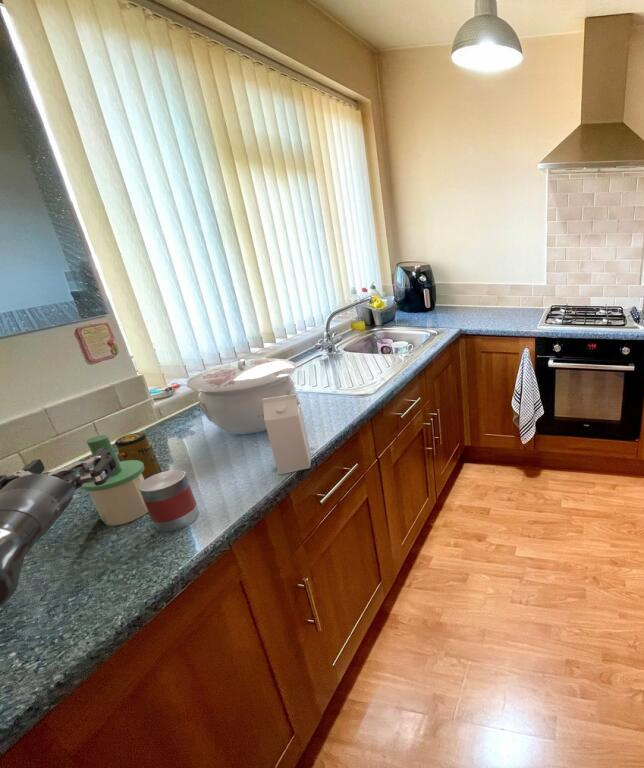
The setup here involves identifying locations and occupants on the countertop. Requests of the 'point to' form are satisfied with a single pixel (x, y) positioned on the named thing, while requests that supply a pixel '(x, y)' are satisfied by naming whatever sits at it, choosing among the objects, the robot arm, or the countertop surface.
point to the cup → (120, 502)
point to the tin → (169, 500)
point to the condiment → (138, 452)
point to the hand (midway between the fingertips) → (72, 458)
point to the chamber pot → (242, 392)
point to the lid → (124, 470)
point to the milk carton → (287, 433)
